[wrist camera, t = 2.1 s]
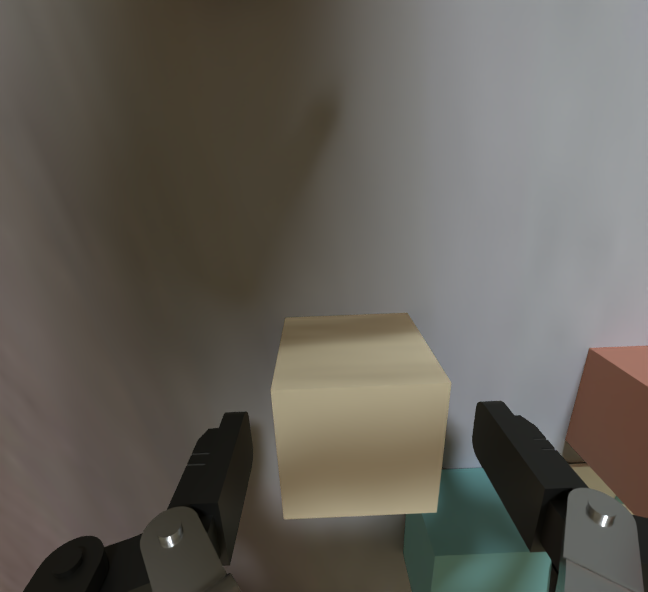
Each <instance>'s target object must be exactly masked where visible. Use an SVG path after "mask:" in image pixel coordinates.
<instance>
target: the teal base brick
mask: <svg viewBox="0 0 648 592" xmlns="http://www.w3.org/2000/svg"><path fill="white" fill-rule="evenodd" d="M403 555H404V559H405V564H406V568H407V572H408V577H409V581H410V586H411V590H412V592H547V584H548V575H549V568H550V564H551V559H550V557H549V556H548V554H547V553H546V552H531V553H530V551H529V549H528V548H527V546H526V544H525V542H524V540H523V539H522V537H521V535H520V533H519V532H518V530H517V528H516V526H515V524H514V523H513V521H512V519H511V517H510V516H509V514H508V512H507V510H506V508H505V507H504V505H503V503H502V501H501V500H500V498H499V496H498V494H497V492H496V491H495V489H494V487H493V485H492V484H491V482H490V480H489V478H488V476H487V475H486V473H485V471H484V469H483V468H466V469H444V470H441V479H440V487H439V496H438V505H437V513H415V514H406V520H405V534H404V549H403Z"/></svg>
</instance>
